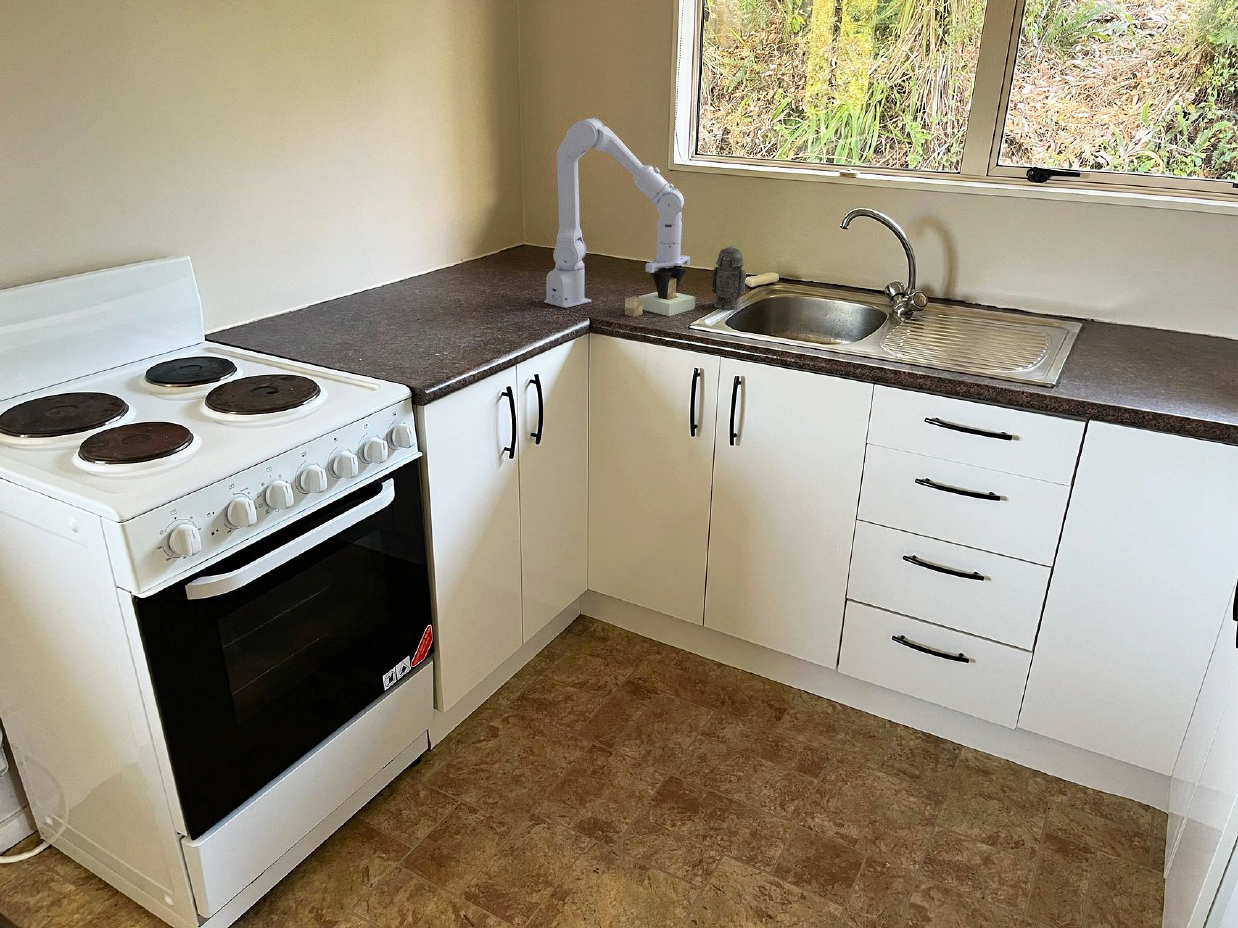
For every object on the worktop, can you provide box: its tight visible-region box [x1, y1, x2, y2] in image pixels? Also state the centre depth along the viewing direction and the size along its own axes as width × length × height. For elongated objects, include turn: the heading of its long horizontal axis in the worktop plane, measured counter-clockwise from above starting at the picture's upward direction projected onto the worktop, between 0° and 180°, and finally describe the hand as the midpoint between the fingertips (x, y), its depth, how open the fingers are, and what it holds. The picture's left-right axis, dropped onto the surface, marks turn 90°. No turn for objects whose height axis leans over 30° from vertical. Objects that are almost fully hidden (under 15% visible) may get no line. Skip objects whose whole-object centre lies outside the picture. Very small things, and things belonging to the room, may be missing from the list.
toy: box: [711, 245, 747, 310], centre depth 230 cm, size 8×6×15 cm
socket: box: [637, 291, 696, 317], centre depth 230 cm, size 10×10×3 cm
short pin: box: [624, 296, 643, 318], centre depth 224 cm, size 3×3×4 cm
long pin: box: [666, 277, 676, 300], centre depth 229 cm, size 3×3×7 cm
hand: (666, 297), depth 229 cm, fingers closed on long pin, 3 cm apart
